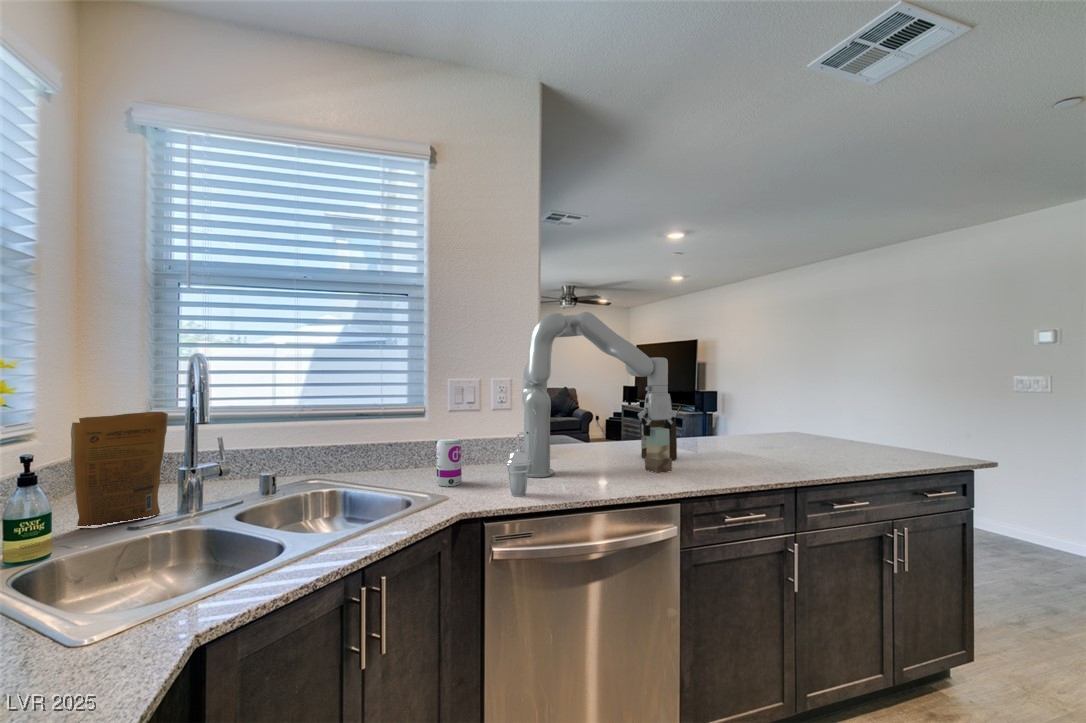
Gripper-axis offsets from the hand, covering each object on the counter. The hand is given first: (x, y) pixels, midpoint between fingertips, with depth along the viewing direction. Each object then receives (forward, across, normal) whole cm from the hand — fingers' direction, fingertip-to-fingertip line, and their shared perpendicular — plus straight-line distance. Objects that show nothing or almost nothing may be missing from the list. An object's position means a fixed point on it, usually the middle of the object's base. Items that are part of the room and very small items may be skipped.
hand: (657, 435), depth 185 cm
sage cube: (+4, 0, 0) cm, 4 cm away
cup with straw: (+14, -61, -10) cm, 63 cm away
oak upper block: (+8, 0, 0) cm, 9 cm away
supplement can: (+14, -77, +13) cm, 79 cm away
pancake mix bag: (+16, -163, +9) cm, 164 cm away
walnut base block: (+14, 0, 0) cm, 14 cm away
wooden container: (+14, +16, +20) cm, 29 cm away
